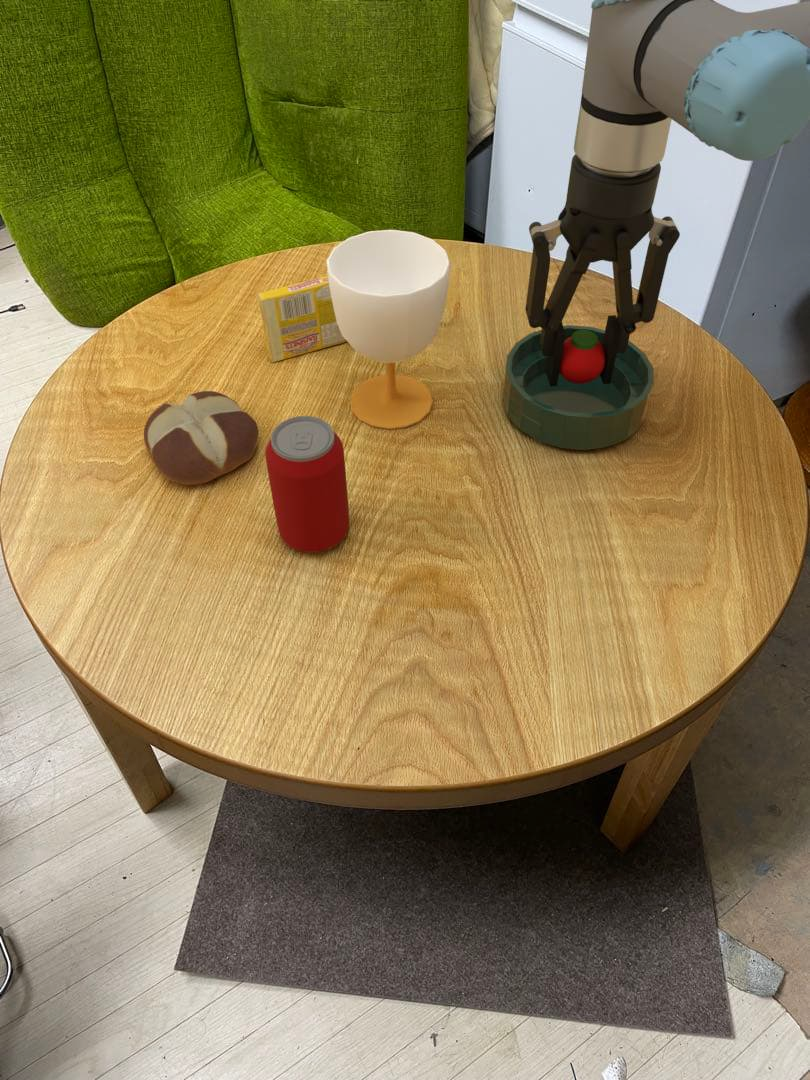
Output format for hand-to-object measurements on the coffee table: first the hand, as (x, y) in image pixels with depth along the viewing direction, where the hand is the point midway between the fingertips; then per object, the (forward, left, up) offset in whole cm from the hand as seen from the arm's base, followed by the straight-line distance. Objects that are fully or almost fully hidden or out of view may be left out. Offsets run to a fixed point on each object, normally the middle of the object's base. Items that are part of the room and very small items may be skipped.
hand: (577, 376), depth 91 cm
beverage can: (+16, +28, -4) cm, 32 cm away
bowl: (0, 0, -4) cm, 4 cm away
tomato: (0, 0, 0) cm, 0 cm away
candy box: (+29, +1, -4) cm, 29 cm away
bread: (+32, +23, -4) cm, 40 cm away
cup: (+18, +8, -4) cm, 20 cm away
